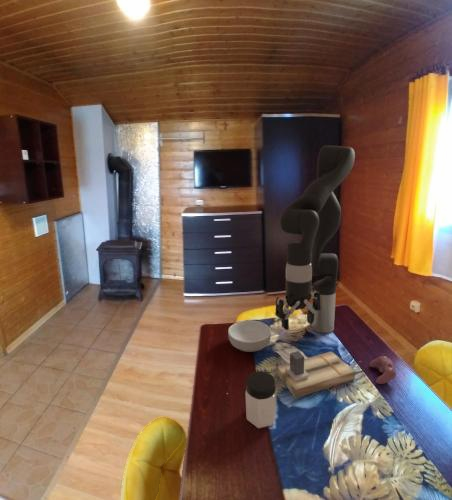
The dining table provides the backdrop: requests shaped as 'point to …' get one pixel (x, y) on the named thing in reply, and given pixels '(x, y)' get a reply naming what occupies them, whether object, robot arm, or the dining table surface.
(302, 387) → the tan flat block
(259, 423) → the jar
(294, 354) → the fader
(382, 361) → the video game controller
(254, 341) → the cereal bowl
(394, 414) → the dining table surface
